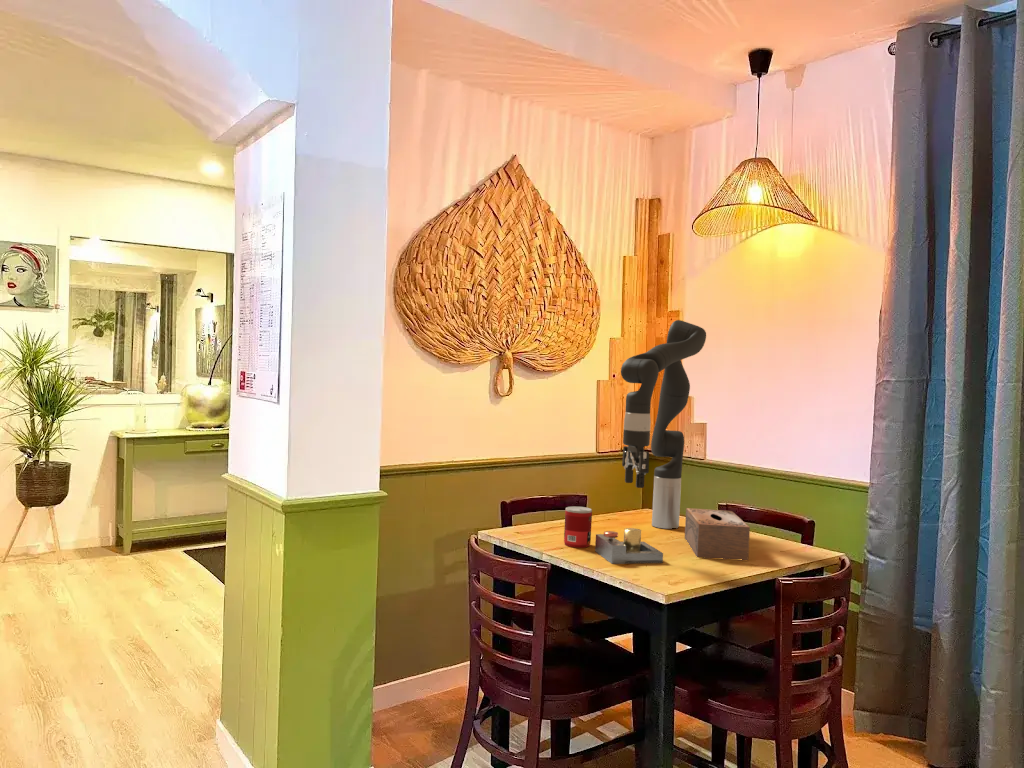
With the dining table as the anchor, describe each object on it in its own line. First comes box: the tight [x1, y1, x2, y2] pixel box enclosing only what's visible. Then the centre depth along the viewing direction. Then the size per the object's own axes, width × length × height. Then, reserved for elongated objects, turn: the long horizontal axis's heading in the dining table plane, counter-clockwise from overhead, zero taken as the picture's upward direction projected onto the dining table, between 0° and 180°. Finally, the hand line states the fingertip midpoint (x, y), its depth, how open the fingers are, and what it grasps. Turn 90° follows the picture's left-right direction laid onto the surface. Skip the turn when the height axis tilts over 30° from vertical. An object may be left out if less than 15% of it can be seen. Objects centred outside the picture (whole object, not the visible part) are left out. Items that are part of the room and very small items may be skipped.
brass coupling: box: [623, 527, 642, 552], centre depth 218 cm, size 5×5×7 cm
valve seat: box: [594, 530, 664, 565], centre depth 218 cm, size 14×15×7 cm
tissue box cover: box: [684, 507, 751, 561], centre depth 233 cm, size 26×14×10 cm, turn 175°
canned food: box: [563, 506, 593, 549], centre depth 230 cm, size 8×8×11 cm
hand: (634, 485), depth 219 cm, fingers open, 8 cm apart
